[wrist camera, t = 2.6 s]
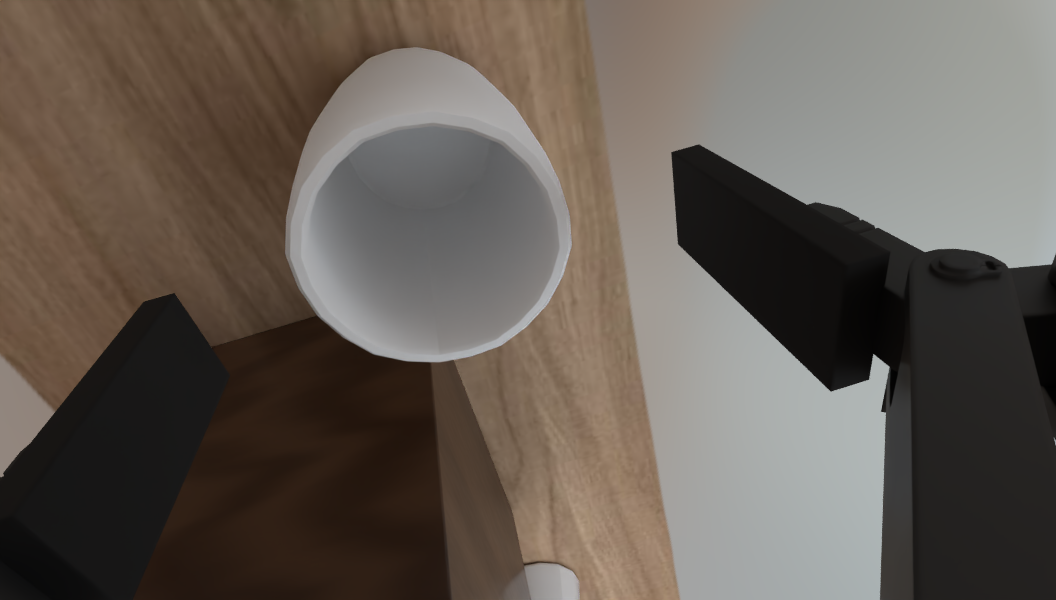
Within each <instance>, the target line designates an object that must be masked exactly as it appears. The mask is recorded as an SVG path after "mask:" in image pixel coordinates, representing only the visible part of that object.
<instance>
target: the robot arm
mask: <svg viewBox="0 0 1056 600" xmlns="http://www.w3.org/2000/svg"><path fill="white" fill-rule="evenodd" d="M672 168H673V180H674V181H673V182H674V194H675V207H676V208H675V209H676V223H677V237H678V244H679V246H681V247H682V248H683V249H684V250H685V251H686V252H687V253H688V254H689V255H690V256H691V257H692V258H693V259H694V260H695V261H696V262H697V263H698V264H699V265H700V266H701V267H702V268H703V269H704V270H705V271H706V272H708V274H710V275H711V276H712V277H713V278H714V279H715V280H716V281H717V282H718V283H719V284H720V285H721V286H722V287H723V288H724V289H725V290H726V291H727V292H728V293H729V294H730V295H731V296H732V297H733V298H734V299H735V300H737V301H738V302H739V303H740V304H741V305H742V306H743V307H744V308H745V309H746V310H747V311H748V312H749V313H750V314H751V315H752V316H753V317H754V318H755V319H756V320H757V321H758V322H759V323H760V324H761V325H763V327H765V328H766V329H767V330H768V331H769V332H770V333H771V334H772V335H773V336H774V337H775V338H776V339H777V340H778V341H779V342H780V343H781V344H782V345H783V346H784V347H785V348H786V349H787V350H788V351H789V352H791V353H792V354H793V355H794V356H795V357H796V358H797V359H798V360H799V361H800V362H801V363H802V364H803V365H804V366H805V367H806V368H807V369H808V370H809V371H810V372H811V373H812V374H813V375H814V376H815V377H816V378H817V379H819V381H821V382H822V383H823V384H824V385H825V386H826V387H827V388H828V389H829V390H830V391H834V390H837V389H841V388H844V387H847V386H850V385H853V384H856V383H859V382H863V381H866V380H869V376H870V370H871V364H872V358H873V354H874V355H876V356H877V357H878V358H879V359H881V360H882V361H883V362H884V363H886V364H887V365H888V366H889V367H890V368H889V373H888V379H887V384H886V389H885V394H884V399H883V405H882V410H881V412H886V428H885V429H886V430H885V459H884V492H883V493H884V494H883V523H882V525H883V526H882V556H881V588H880V600H1056V445H1055V441H1054V438H1055V440H1056V255H1055V258H1054V260H1053V263H1052V265H1042V266H1030V267H1019V268H1008V267H1007V266H1006V264H1005V263H1003V262H1001V261H999V260H998V259H995V258H994V257H992V256H989V255H985V254H982V253H979V252H975V251H968V250H960V249H938V250H933V251H929V252H923V251H921V250H919V249H917V248H916V247H914V246H912V245H910V244H908V243H906V242H904V241H902V240H900V239H898V238H897V237H895V236H893V235H891V234H889V233H887V232H885V231H883V230H881V229H879V228H876V229H875V227H874V225H871V224H870V223H868V222H866V221H864V220H859V218H858V217H857V216H854V215H852V214H851V213H849V212H847V211H845V210H843V209H841V208H837V207H833V206H829V205H825V204H821V203H812V204H809V205H806V204H804V203H803V202H801V201H799V200H797V199H795V198H793V197H792V196H790V195H788V194H786V193H785V192H783V191H781V190H779V189H777V188H776V187H774V186H772V185H770V184H769V183H767V182H765V181H763V180H761V179H759V178H758V177H756V176H754V175H752V174H751V173H749V172H747V171H745V170H743V169H742V168H740V167H738V166H736V165H735V164H733V163H731V162H729V161H727V160H726V159H724V158H722V157H720V156H718V155H717V154H715V153H713V152H711V151H709V150H708V149H706V148H704V147H702V146H701V145H695V146H692V147H688V148H685V149H681V150H678V151H674V152H672ZM229 377H230V374H229V373H228V371H227V370H226V368H225V367H224V365H223V364H222V362H221V361H220V360H219V358H218V357H217V355H216V354H215V352H214V351H213V349H212V348H211V346H210V345H209V343H208V342H207V340H206V339H205V337H204V336H203V334H202V333H201V332H200V330H199V329H198V327H197V326H196V324H195V323H194V321H193V320H192V318H191V317H190V315H189V314H188V312H187V311H186V309H185V308H184V306H183V305H182V304H181V302H180V301H179V299H178V298H177V296H176V295H175V293H173V294H170V295H166V296H163V297H159V298H156V299H152V300H148V301H145V302H143V303H142V305H141V306H140V307H139V308H138V310H137V311H136V312H135V313H134V315H133V316H132V317H131V318H130V320H129V321H128V322H127V323H126V325H125V326H124V327H123V328H122V330H121V331H120V332H119V333H118V335H117V336H116V337H115V338H114V340H113V341H112V342H111V343H110V345H109V346H108V347H107V348H106V350H105V351H104V352H103V353H102V355H101V356H100V357H99V358H98V360H97V361H96V362H95V363H94V365H93V366H92V367H91V368H90V370H89V371H88V372H87V373H86V375H85V376H84V377H83V378H82V379H81V381H80V382H79V383H78V384H77V386H76V387H75V388H74V389H73V391H72V392H71V393H70V394H69V396H68V397H67V398H66V399H65V401H64V402H63V403H62V404H61V406H60V407H59V408H58V409H57V411H56V412H55V413H54V414H53V416H52V417H51V418H50V419H49V421H48V422H47V423H46V424H45V426H44V427H43V428H42V429H41V431H40V432H39V433H38V434H37V436H36V437H35V438H34V439H33V441H32V442H31V443H30V444H29V445H28V446H27V447H26V448H24V449H23V450H22V451H21V452H20V453H19V454H18V456H17V457H16V458H15V460H14V461H13V462H12V463H11V464H10V465H9V467H8V468H7V469H6V470H5V472H4V473H3V474H4V477H0V600H133V598H134V595H135V593H136V591H137V588H138V586H139V584H140V582H141V579H142V577H143V575H144V572H145V570H146V568H147V566H148V563H149V561H150V559H151V556H152V554H153V552H154V549H155V547H156V545H157V543H158V540H159V538H160V536H161V533H162V531H163V529H164V526H165V524H166V522H167V520H168V517H169V515H170V513H171V510H172V508H173V506H174V504H175V501H176V499H177V497H178V494H179V492H180V490H181V487H182V485H183V483H184V481H185V478H186V476H187V474H188V471H189V469H190V467H191V465H192V462H193V460H194V458H195V455H196V453H197V451H198V448H199V446H200V444H201V442H202V439H203V437H204V435H205V432H206V430H207V428H208V425H209V423H210V421H211V419H212V416H213V414H214V412H215V409H216V407H217V405H218V403H219V400H220V398H221V396H222V393H223V391H224V389H225V386H226V384H227V382H228V380H229Z"/></svg>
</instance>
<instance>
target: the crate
mask: <svg viewBox="0 0 1056 600" xmlns="http://www.w3.org/2000/svg"><path fill="white" fill-rule="evenodd" d="M212 349H213V351H214V352H215V354H216V355H217V357H218V358H219V360H220V361H221V362H222V364H223V365H224V367H225V368H226V370H227V371H228V373H229V374H230V377H229V380H228V382H227V384H226V386H225V389H224V391H223V393H222V396H221V398H220V400H219V403H218V405H217V407H216V409H215V412H214V414H213V416H212V419H211V421H210V423H209V425H208V428H207V430H206V432H205V435H204V437H203V439H202V442H201V444H200V446H199V448H198V451H197V453H196V455H195V458H194V460H193V462H192V465H191V467H190V469H189V471H188V474H187V476H186V478H185V481H184V483H183V485H182V487H181V490H180V492H179V494H178V497H177V499H176V501H175V504H174V506H173V508H172V510H171V513H170V515H169V517H168V520H167V522H166V524H165V526H164V529H163V531H162V533H161V536H160V538H159V540H158V543H157V545H156V547H155V549H154V552H153V554H152V556H151V559H150V561H149V563H148V566H147V568H146V570H145V572H144V575H143V577H142V579H141V582H140V584H139V586H138V588H137V591H136V593H135V595H134V598H133V600H531V596H530V592H529V587H528V582H527V578H526V573H525V568H524V564H523V559H522V554H521V550H520V545H519V540H518V536H517V531H516V526H515V522H514V517H513V513H512V510H511V508H510V505H509V503H508V500H507V497H506V495H505V492H504V490H503V487H502V484H501V482H500V479H499V477H498V474H497V471H496V469H495V466H494V464H493V461H492V458H491V456H490V453H489V451H488V448H487V445H486V443H485V440H484V438H483V435H482V432H481V430H480V427H479V425H478V422H477V419H476V417H475V414H474V412H473V409H472V406H471V404H470V401H469V399H468V396H467V393H466V391H465V388H464V386H463V383H462V380H461V378H460V375H459V373H458V370H457V368H456V365H455V362H454V360H450V361H444V362H413V361H402V360H398V359H393V358H388V357H384V356H379V355H374V354H372V353H370V352H368V351H366V350H364V349H363V348H361V347H359V346H357V345H355V344H354V343H352V342H350V341H348V340H346V339H344V338H343V337H342V336H341V335H339V334H338V333H337V332H336V331H335V330H334V329H332V328H331V327H330V326H329V325H328V324H326V323H325V322H324V321H323V320H322V319H321V318H319V317H318V316H316V317H312V318H309V319H306V320H302V321H299V322H296V323H292V324H289V325H286V326H282V327H279V328H276V329H272V330H269V331H266V332H262V333H259V334H256V335H252V336H249V337H246V338H242V339H239V340H236V341H232V342H229V343H226V344H222V345H219V346H216V347H212Z"/></svg>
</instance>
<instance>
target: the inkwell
mask: <svg viewBox="0 0 1056 600" xmlns="http://www.w3.org/2000/svg"><path fill="white" fill-rule="evenodd" d="M524 568H525V573H526V578H527V582H528V587H529V592H530V596H531V600H580V594H579V580H578V579H577V577H576V576H575V574H574V573H573V571H572V570H570V569H568V568H566V567H564V566H562V565H559V564H553V563H535V564H530V565H524Z"/></svg>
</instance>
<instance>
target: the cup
mask: <svg viewBox="0 0 1056 600" xmlns="http://www.w3.org/2000/svg"><path fill="white" fill-rule="evenodd" d="M571 246H572V242H571V228H570V214H569V210H568V207H567V204H566V201H565V198H564V195H563V191H562V188H561V185H560V182H559V179H558V177H557V175H556V173H555V171H554V169H553V167H552V165H551V163H550V161H549V159H548V157H547V155H546V153H545V151H544V150H543V148H542V147H541V145H540V144H539V142H538V141H537V139H536V138H535V136H534V135H533V133H532V132H531V130H530V129H529V127H528V126H527V124H526V123H525V121H524V120H523V118H522V117H521V115H520V114H519V112H518V111H517V109H516V108H515V107H514V106H513V105H512V104H511V102H510V101H509V100H508V99H507V98H506V97H505V96H504V95H503V94H502V93H501V92H500V91H499V90H498V89H496V88H495V87H494V86H493V85H492V84H491V83H490V82H489V81H488V80H487V79H486V78H485V77H484V76H483V75H482V74H481V73H479V72H478V71H477V70H476V69H475V68H473V67H472V66H470V65H469V64H467V63H465V62H463V61H461V60H458V59H456V58H454V57H452V56H449V55H447V54H445V53H442V52H440V51H435V50H429V49H424V48H419V47H412V48H402V49H393V50H390V51H387V52H384V53H382V54H379V55H376V56H373V57H371V58H369V59H367V60H366V61H365V62H364V63H363V64H362V65H361V66H360V67H358V68H357V69H356V70H355V71H354V72H353V73H352V74H351V75H350V76H348V77H347V78H346V79H345V80H344V81H343V82H342V83H341V85H340V86H339V87H338V89H337V90H336V92H335V93H334V94H333V96H332V97H331V99H330V100H329V102H328V103H327V105H326V106H325V108H324V109H323V111H322V112H321V114H320V115H319V117H318V118H317V120H316V122H315V123H314V125H313V127H312V128H311V130H310V132H309V135H308V138H307V140H306V143H305V146H304V149H303V151H302V155H301V158H300V162H299V165H298V169H297V172H296V176H295V179H294V183H293V186H292V191H291V196H290V201H289V206H288V211H287V216H286V239H285V255H286V258H287V260H288V263H289V266H290V268H291V271H292V273H293V276H294V279H295V281H296V284H297V286H298V288H299V290H300V291H301V293H302V294H303V295H304V297H305V298H306V300H307V301H308V303H309V304H310V306H311V307H312V309H313V310H314V312H315V313H316V314H317V316H318V317H319V318H321V319H322V320H323V321H324V322H325V323H326V324H328V325H329V326H330V327H331V328H332V329H334V330H335V331H336V332H337V333H338V334H339V335H341V336H342V337H343V338H344V339H346V340H348V341H350V342H352V343H354V344H355V345H357V346H359V347H361V348H363V349H364V350H366V351H368V352H370V353H372V354H374V355H379V356H384V357H388V358H393V359H398V360H402V361H413V362H444V361H450V360H455V359H461V358H466V357H471V356H474V355H477V354H480V353H482V352H485V351H488V350H490V349H493V348H496V347H498V346H501V345H503V344H504V343H505V342H507V341H508V340H509V339H511V338H512V337H513V336H515V335H516V334H518V333H519V332H520V331H522V330H523V329H524V328H526V327H527V326H528V325H529V324H530V323H531V321H532V320H533V319H534V318H535V317H536V316H537V315H538V314H539V313H540V312H541V311H542V310H543V308H544V307H545V306H546V305H547V304H548V303H549V301H550V299H551V297H552V295H553V293H554V291H555V290H556V288H557V286H558V284H559V282H560V280H561V278H562V277H563V274H564V270H565V267H566V263H567V260H568V257H569V253H570V250H571Z"/></svg>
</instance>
